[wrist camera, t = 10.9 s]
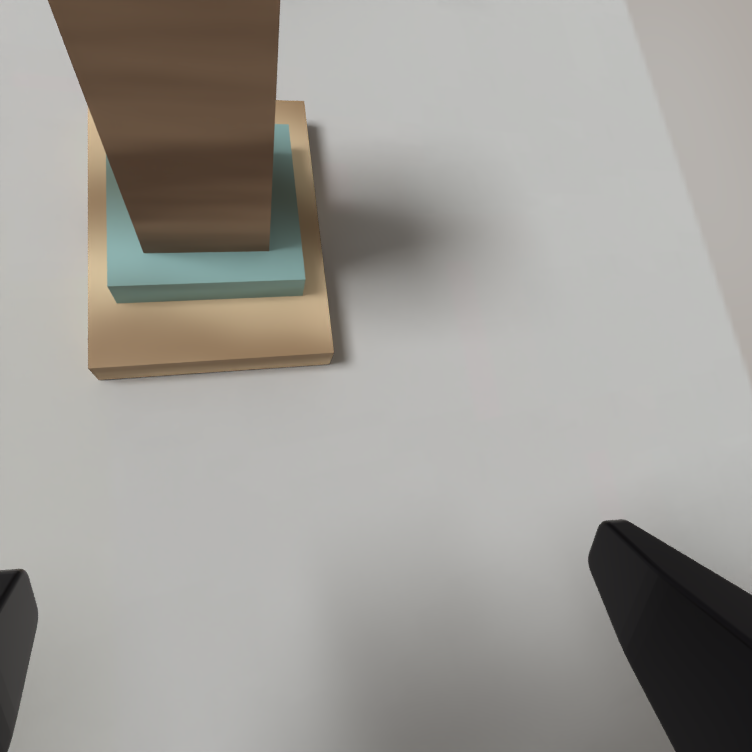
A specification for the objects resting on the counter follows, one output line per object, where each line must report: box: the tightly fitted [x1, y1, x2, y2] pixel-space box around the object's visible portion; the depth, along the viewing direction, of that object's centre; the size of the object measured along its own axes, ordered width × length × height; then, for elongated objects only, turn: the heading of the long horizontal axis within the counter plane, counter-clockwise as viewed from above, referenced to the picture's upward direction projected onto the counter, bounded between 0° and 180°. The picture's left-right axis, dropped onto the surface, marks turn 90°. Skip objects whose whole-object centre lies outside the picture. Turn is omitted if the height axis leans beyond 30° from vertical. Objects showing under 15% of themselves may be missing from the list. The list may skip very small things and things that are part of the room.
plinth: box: [88, 100, 334, 380], centre depth 23 cm, size 12×9×3 cm
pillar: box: [48, 0, 280, 253], centre depth 16 cm, size 4×4×12 cm
